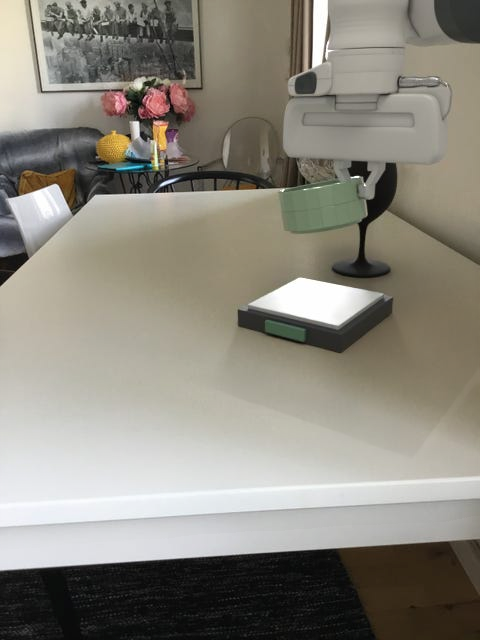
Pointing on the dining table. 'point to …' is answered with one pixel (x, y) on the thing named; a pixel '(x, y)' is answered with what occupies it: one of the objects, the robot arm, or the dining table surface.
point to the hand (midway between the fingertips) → (357, 197)
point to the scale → (317, 313)
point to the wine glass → (375, 208)
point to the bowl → (322, 206)
